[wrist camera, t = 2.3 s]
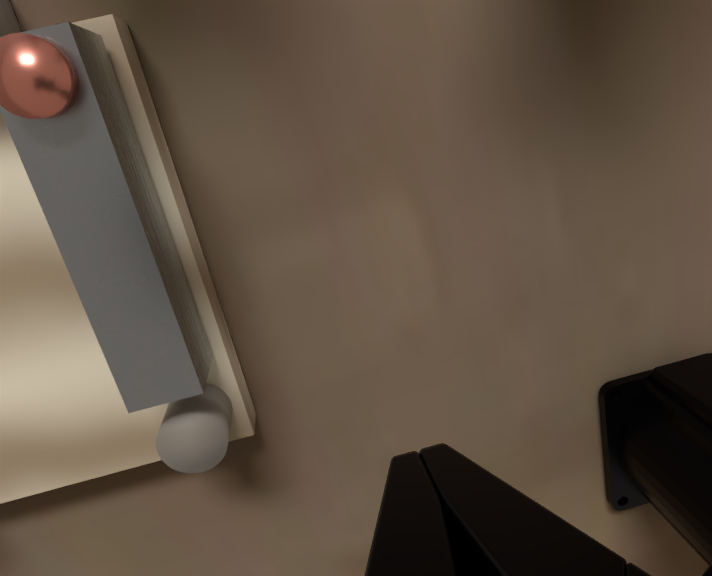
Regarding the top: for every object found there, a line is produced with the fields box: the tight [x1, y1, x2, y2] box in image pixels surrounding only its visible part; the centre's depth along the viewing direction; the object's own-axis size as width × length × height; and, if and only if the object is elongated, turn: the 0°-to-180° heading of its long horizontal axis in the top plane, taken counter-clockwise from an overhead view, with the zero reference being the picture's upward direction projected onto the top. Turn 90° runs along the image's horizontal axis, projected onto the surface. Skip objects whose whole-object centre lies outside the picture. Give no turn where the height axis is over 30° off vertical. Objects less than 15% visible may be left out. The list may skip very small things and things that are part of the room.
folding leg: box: [0, 22, 213, 413], centre depth 15 cm, size 10×2×3 cm, turn 13°
